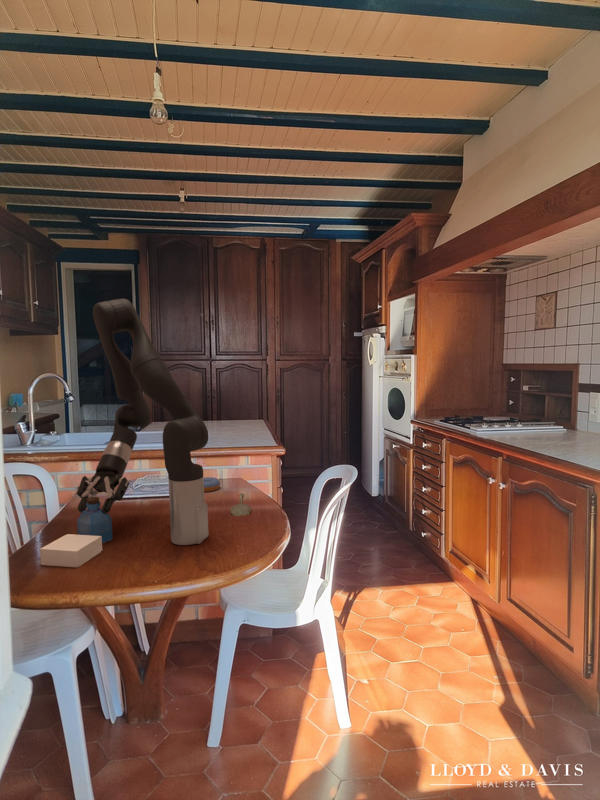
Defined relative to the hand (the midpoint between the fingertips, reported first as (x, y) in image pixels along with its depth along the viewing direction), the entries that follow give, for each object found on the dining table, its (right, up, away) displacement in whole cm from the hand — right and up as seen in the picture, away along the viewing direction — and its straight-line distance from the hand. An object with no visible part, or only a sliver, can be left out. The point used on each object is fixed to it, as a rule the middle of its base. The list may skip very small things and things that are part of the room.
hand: (92, 512), depth 132 cm
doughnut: (+21, -4, +53) cm, 57 cm away
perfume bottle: (0, -9, +1) cm, 9 cm away
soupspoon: (+37, -6, +31) cm, 48 cm away
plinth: (-1, -9, -10) cm, 13 cm away
